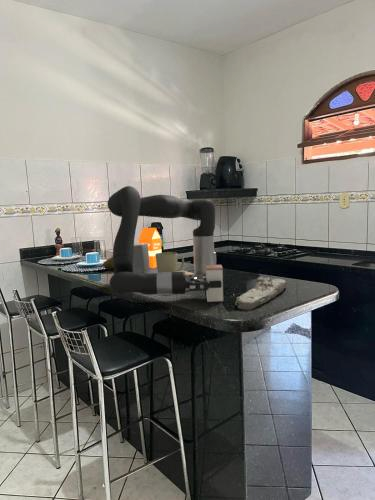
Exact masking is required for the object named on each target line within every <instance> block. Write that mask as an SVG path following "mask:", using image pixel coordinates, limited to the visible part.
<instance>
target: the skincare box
mask: <svg viewBox="0 0 375 500" xmlns="http://www.w3.org/2000/svg"><path fill="white" fill-rule="evenodd" d="M133 273H141V274H150V273H151V268H150V264H149V252H148V244H139V243H137V244H135V243H134V257H133Z"/></svg>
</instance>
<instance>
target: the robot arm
mask: <svg viewBox="0 0 375 500" xmlns="http://www.w3.org/2000/svg"><path fill="white" fill-rule="evenodd" d="M214 203H215V202H213V201H212V200H211V199H205V198H204V199H203V198H202V199H191V200H187V199H186V200H183V199H180V198H179V197H177V196H174V195H169V194H168V195H167V194H155V195H148V196H144V197H141V194H140V192H139V191H138V190H137V188H136V187H133V186H130V185H126V186H124V187H122V188H120V189H119V190H117V191H115V192H114V193H113V194H111V196H110V197H108V200H107V209H108V210H109V211H110V213H111V214H113V215H115V217H119V218H121V219H120V220H121V221H120V222H119V223H120V224H119V227H118V230H117V233H116V234H115V235H116V236H115V239H114V243H113V246H112V247H113V248H112V257H113V266H114V270H113V271H114V273H113V275H112V276H111V277H110V279H109V287H110V289H111V290H112V292H113V294H115V295H116V296H117V297H119V298H122V299H123V298H128V297H129V296H131V295H132V293H140V294H142V295H148V296H149V295H163V296H164V295H165V296H168V295H169V296H171V295H185V294H186V288H189V290H188V291H189V292H194V291H197V292H198V291H200V292H201V291H207V290H208V289H210V288H221V287H222V282H221V281H206V268H205V265H217V252H215V241H214V239H215V237H214V235H215V234H214V232H215V228H216V207H215V204H214ZM139 217H149V218H159V219H177V218H178V219H179V218H184V219H189V220H193V221H199V225H198V227H196V228H194V229H193V230H192V239H193V241H192V243H193V244H192V245H193V247H192V249H193V271H194V272H193V273H194V274H195V275H189V277H187V278H186V277H185V272H177V271H176V272H162V273H158V272H155V273H153V272H150V274H141V273H133V257H134V245H135V237H136V230H137V226H138V225H137V224H138V220H139Z"/></svg>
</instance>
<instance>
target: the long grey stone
mask: <svg viewBox="0 0 375 500" xmlns="http://www.w3.org/2000/svg"><path fill="white" fill-rule="evenodd" d="M255 282H256V283H255V284H254V285H253V287H252V288H251V289H249V290H247V291H246V292H244V293H242V294H241V295H239V296H237V297H236V300H235V302H234V305H235V306H236V307H237V309H240V310H253V309H255V308H257V307H259V306H261V305H263V304H266V303H268V301H271V300H273V299H275V298H276V296H278V295H280V294H281V293H282V292H283V291H284V290H285V288H286V287H287V284H288V283H287V280H285V279H282V278H271V277H268V276H265V277H263V276H260V277H257V278H256V280H255Z"/></svg>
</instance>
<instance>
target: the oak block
mask: <svg viewBox="0 0 375 500" xmlns="http://www.w3.org/2000/svg"><path fill="white" fill-rule="evenodd" d="M176 272H185V277H186V278H187V277H189V275H196V274H194V272H190V271H187V270H180V271H178V270H177V271H176ZM186 291H187V292H188V291H189V288H186Z"/></svg>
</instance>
